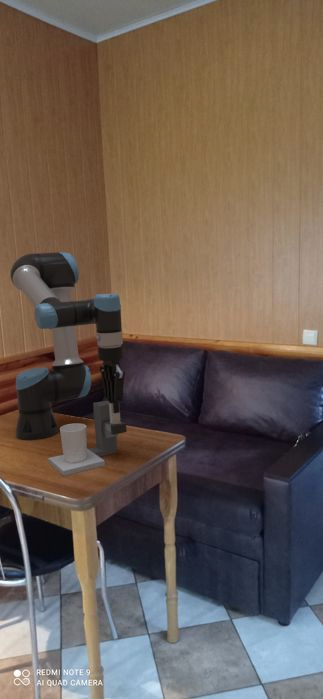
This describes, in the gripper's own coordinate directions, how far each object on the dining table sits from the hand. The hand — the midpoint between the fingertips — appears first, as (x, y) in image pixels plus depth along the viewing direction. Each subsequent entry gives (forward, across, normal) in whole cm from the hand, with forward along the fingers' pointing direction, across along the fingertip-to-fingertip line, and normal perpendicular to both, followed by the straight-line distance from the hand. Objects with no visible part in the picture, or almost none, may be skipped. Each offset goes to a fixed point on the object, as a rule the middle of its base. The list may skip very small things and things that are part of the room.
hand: (115, 422), depth 162 cm
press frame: (+12, -4, -8) cm, 15 cm away
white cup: (+10, -4, -12) cm, 16 cm away
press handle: (+5, -1, 0) cm, 6 cm away
